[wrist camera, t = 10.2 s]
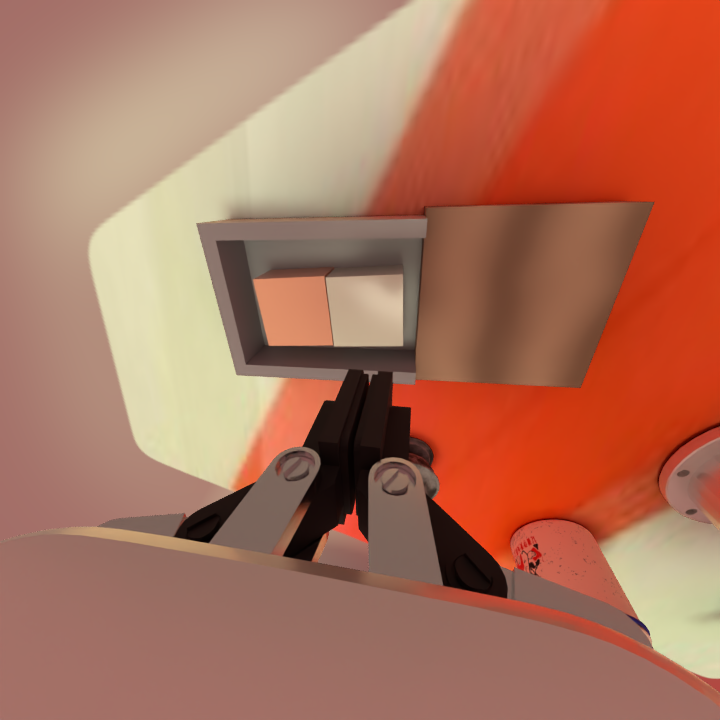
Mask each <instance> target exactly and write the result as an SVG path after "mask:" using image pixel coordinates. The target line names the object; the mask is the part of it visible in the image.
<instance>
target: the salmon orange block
mask: <svg viewBox="0 0 720 720" xmlns="http://www.w3.org/2000/svg"><path fill="white" fill-rule="evenodd" d="M333 270H334V267H320V268H300V269H280V270H269V271H268V272H266V273H264V274H262V275H260V276H258V277H256V278H254V279H253V282H254V286H255V290H256V295H257V299H258V303H259V307H260V311H261V315H262V319H263V323H264V328H265V332H266V336H267V340H268V344H269V346H316V345H334V341H333V333H332V326H331V318H330V310H329V302H328V294H327V286H326V277H327V276H328V275H329V274H330V273H331V272H332V271H333Z"/></svg>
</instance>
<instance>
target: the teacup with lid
mask: <svg viewBox="0 0 720 720" xmlns="http://www.w3.org/2000/svg"><path fill="white" fill-rule="evenodd" d="M511 550H512V553H513V556H514V560H515V563H516V566H517V568H518V569H520V570H523V571H525V572H528V573H531V574H533V575H536V576H538V577H541V578H543V579H546V580H549V581H551V582H554V583H556V584H559V585H562V586H564V587H567V588H569V589H572V590H574V591H577V592H580V593H582V594H585V595H587V596H590V597H592V598H595V599H598V600H600V601H603V602H605V603H608V604H610V605H612V606H613V607H615V608H617V609H619V610H621V611H622V612H624V613H625V614H626V615H627V616H628V617H629V618H631V619H632V620H633V621H634V622H635V623H636V624H637V625H638V626H639V627H640V629H641V630H642V631H643V632H644V634H645V635H646V636H647V637H648V639H649V641H650V643H651V645H652V641H651V637H650V633H649V630H648V629H647V627H646V626H645V625H644V624H643V623H642V622H641V621H640V620H639V619H638V617H637V615H636V613H635V611H634V609H633V608H632V606H631V604H630V602H629V600H628V599H627V597H626V595H625V593H624V591H623V589H622V588H621V586H620V584H619V582H618V580H617V579H616V577H615V575H614V573H613V571H612V569H611V568H610V566H609V564H608V562H607V560H606V559H605V557H604V555H603V553H602V551H601V549H600V548H599V546H598V544H597V542H596V540H595V539H594V537H593V535H592V534H591V533H590V532H589V531H588V530H587V529H586V528H584V527H583V526H581V525H579V524H576V523H574V522H570V521H565V520H556V519H550V520H541V521H536V522H532V523H530V524H527V525H525V526H523V527H521V528H520V529H519V530H517V531H516V532H515V534H514V535H513V537H512V539H511Z"/></svg>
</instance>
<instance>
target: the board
mask: <svg viewBox="0 0 720 720" xmlns="http://www.w3.org/2000/svg"><path fill="white" fill-rule="evenodd" d="M653 205H654V202H629V201H622V202H583V203H544V204H505V205H467V206H428V207H424V216H425V217H426V218H427V232H426V238H423V240H422V255H421V269H420V283H419V297H418V312H417V326H416V340H415V365H416V378H415V379H416V380H436V381H455V382H475V383H495V384H514V385H534V386H554V387H573V388H581V385H582V383H583V380H584V378H585V375H586V373H587V370H588V368H589V365H590V363H591V360H592V358H593V355H594V353H595V350H596V348H597V345H598V343H599V340H600V338H601V335H602V333H603V330H604V328H605V325H606V323H607V320H608V318H609V315H610V313H611V310H612V308H613V305H614V303H615V300H616V297H617V295H618V292H619V290H620V287H621V285H622V282H623V280H624V277H625V275H626V272H627V270H628V267H629V265H630V262H631V260H632V257H633V255H634V252H635V250H636V247H637V245H638V242H639V240H640V237H641V235H642V232H643V230H644V227H645V225H646V222H647V220H648V217H649V215H650V212H651V210H652V207H653Z"/></svg>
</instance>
